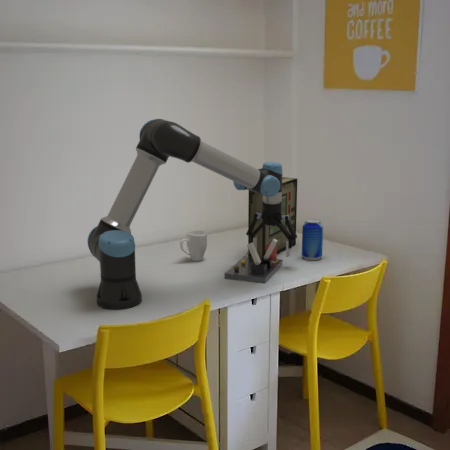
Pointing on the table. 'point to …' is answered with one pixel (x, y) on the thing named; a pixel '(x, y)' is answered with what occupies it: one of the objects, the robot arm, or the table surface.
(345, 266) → the table surface
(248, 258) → the panel
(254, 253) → the breaker
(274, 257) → the red rounded cylinder
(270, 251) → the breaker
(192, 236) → the mug
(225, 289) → the table surface
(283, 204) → the control panel
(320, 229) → the beer can
